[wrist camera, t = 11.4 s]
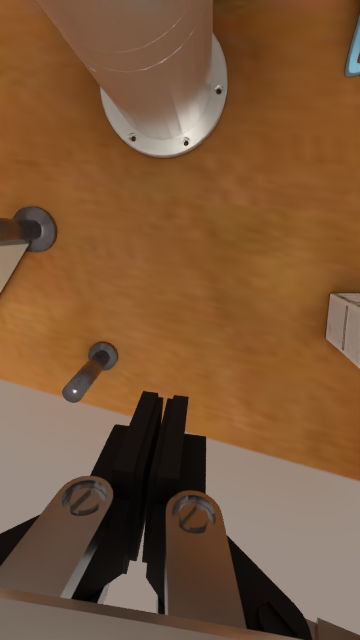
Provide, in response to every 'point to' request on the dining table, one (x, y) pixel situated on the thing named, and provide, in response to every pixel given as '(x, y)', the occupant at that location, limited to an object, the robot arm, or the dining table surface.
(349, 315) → the syrup box
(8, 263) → the panel
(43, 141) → the dining table surface
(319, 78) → the dining table surface
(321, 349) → the dining table surface
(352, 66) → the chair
